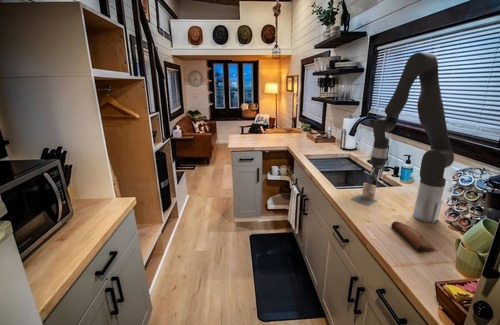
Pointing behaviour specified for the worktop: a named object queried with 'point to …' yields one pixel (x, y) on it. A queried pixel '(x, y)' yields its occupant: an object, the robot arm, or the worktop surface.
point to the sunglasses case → (413, 237)
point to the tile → (368, 191)
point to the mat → (363, 200)
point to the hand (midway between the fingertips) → (374, 185)
